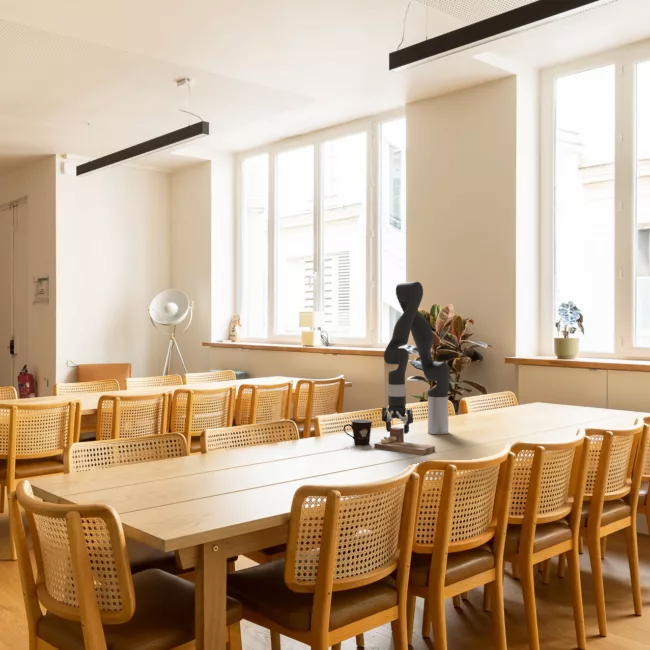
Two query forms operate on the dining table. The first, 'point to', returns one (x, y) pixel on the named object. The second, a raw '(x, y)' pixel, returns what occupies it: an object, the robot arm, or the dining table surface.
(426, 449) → the plank
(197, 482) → the dining table surface
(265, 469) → the dining table surface
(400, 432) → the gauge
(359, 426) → the coffee mug
